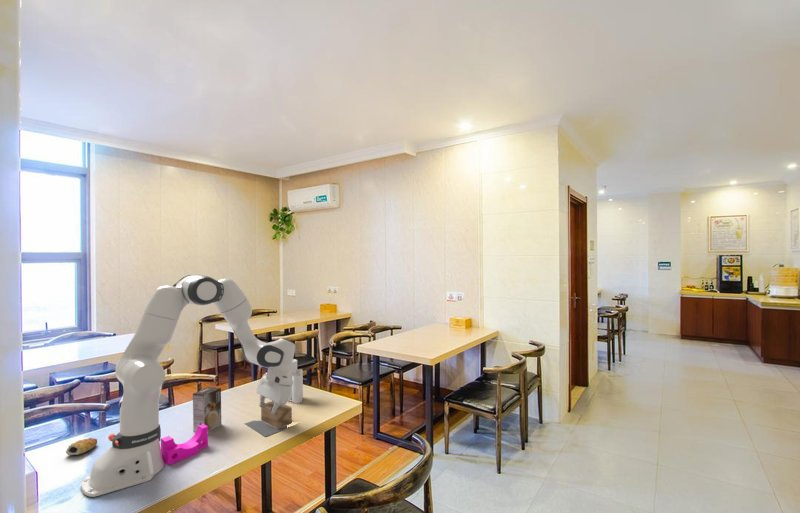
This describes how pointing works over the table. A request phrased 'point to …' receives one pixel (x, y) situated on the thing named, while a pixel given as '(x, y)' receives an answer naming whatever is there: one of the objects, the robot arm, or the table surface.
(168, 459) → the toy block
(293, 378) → the three-tube pen holder
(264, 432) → the mat
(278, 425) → the wooden brick
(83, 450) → the pastry
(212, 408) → the coffee box
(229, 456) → the table surface
